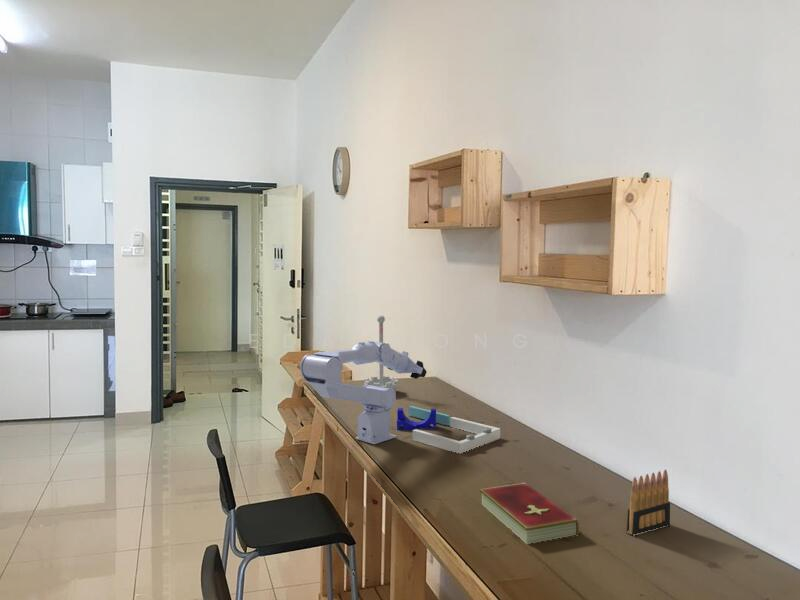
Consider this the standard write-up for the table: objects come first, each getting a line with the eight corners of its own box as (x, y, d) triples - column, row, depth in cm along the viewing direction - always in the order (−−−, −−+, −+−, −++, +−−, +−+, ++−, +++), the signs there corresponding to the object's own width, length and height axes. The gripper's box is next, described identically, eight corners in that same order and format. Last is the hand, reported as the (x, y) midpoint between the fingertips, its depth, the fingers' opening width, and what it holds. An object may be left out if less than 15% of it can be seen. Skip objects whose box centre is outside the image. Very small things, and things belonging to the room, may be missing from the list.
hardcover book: (526, 498, 152) (526, 481, 152) (578, 538, 132) (579, 518, 132) (479, 505, 148) (479, 487, 148) (526, 547, 128) (526, 527, 128)
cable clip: (397, 430, 204) (396, 411, 203) (398, 426, 208) (398, 407, 208) (435, 431, 203) (435, 412, 202) (436, 426, 207) (436, 408, 207)
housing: (461, 454, 181) (461, 441, 180) (412, 440, 194) (412, 427, 193) (501, 438, 195) (501, 426, 194) (453, 426, 207) (453, 414, 207)
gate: (408, 415, 219) (408, 406, 218) (410, 414, 220) (410, 405, 219) (447, 425, 207) (447, 416, 207) (450, 424, 208) (450, 415, 208)
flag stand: (363, 389, 256) (362, 313, 253) (396, 388, 257) (396, 313, 254) (365, 398, 243) (364, 318, 240) (400, 397, 244) (399, 317, 241)
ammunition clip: (633, 536, 132) (635, 479, 131) (626, 533, 133) (628, 476, 132) (670, 525, 137) (672, 470, 136) (662, 522, 138) (665, 467, 137)
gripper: (416, 353, 197) (437, 365, 207) (380, 341, 205) (402, 353, 216) (408, 375, 196) (430, 386, 206) (371, 362, 204) (394, 373, 215)
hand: (415, 370), depth 211 cm, fingers open, 7 cm apart
